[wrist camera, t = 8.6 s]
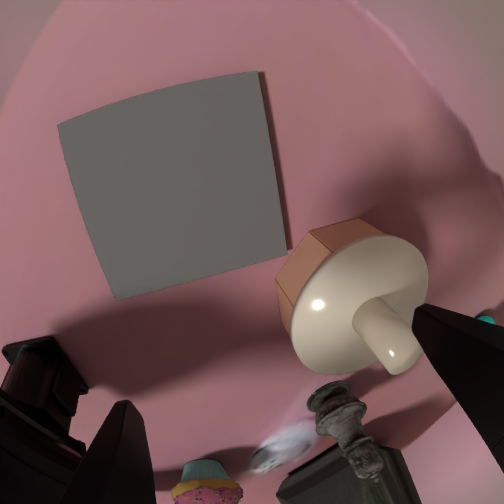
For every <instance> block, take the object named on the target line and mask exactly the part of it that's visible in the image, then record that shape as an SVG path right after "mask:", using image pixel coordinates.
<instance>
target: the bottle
mask: <svg viewBox="0 0 504 504" xmlns="http://www.w3.org/2000/svg"><path fill="white" fill-rule="evenodd" d="M372 444H373V445H374V447H375V448H376V450H377V452H378V453H379V455H380V457H381V458H382V460H383V463H384V464H383V468H382V469H381V471H380V472H379V474H378V475H377V477H380V478H379V482H378V483H377V482H375V481H373V480H374V479H373V478H367V479H361V478H359V477H357V475H356V474H355V472H354V470H353V468H352V466H351V464H350V463H349V461H348V459H347V458H344V457H342V456H341V453H342V449H341V448H340V446H339V445H338V446H337V447H335V448H334V449H332V450H331V451H329V452H328V453H326V454H325V455H323V456H321V457H320V458H318V459H317V460H315V461H313V462H312V463H310V464H309V465H307V466H305V467H304V468H302V469H300V470H298V471H297V472H295V473H293V474H291V475H290V476H288V477H287V478H286V479H285V480H284V481H283V482H282V484H281V485H280V487H279V489H278V491H277V493H276V497H277V498H278V500H279V502H280V503H281V504H422V503H421V500H420V498H419V495H418V493H417V490H416V488H415V485H414V482H413V480H412V477H411V475H410V472H409V470H408V468H407V465H406V463H405V460H404V458H403V456H402V453H401V451H400V450H399V449H394V448H390V447H385V446H381V445H377V444H374V443H372Z"/></svg>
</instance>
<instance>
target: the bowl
mask: <svg viewBox="0 0 504 504" xmlns="http://www.w3.org/2000/svg"><path fill="white" fill-rule="evenodd" d="M374 234H385V233H383V232H382V231H380V230H378V229H377V228H375V227H373V226H372V225H370V224H368V223H366V222H365V221H363V220H361V219H360V218H357V219H353V220H349V221H345V222H341V223H338V224H334V225H330V226H326V227H323V228H319V229H315V230H311V231H310V233H309V232H308V233H307V234H306V236H305V237H304V239H303V240H302V241H301V243H300V244H299V246H298V247H297V249H296V250H295V251H294V253H293V254H292V256H291V257H290V258H289V260H288V261H287V263H286V264H285V265H284V267H283V268H282V270H281V271H280V272H279V274H278V275H277V277H276V279H275V283H276V289H277V295H278V301H279V308H280V314H281V320H282V323H283V325H284V327H285V329H286V331H287V332H288V334H289V336H290V330H289V326H290V318H291V314H292V309H293V307H294V304H295V301H296V299H297V297H298V295H299V293H300V291H301V289H302V287H303V286H304V284H305V283H306V281H307V280H308V278H309V277H310V276H311V275H312V273H313V272H314V271H315V270H316V269H317V268H318V267H319V266H320V265H321V264H322V263H323V262H324V261H325V260H326V259H327V258H328V257H329V256H331V255H332V254H333V253H334V252H336V251H337V250H339V249H340V248H342V247H343V246H345V245H346V244H348V243H350V242H352V241H354V240H357V239H359V238H362V237H365V236H369V235H374Z"/></svg>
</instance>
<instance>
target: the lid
mask: <svg viewBox="0 0 504 504" xmlns="http://www.w3.org/2000/svg"><path fill="white" fill-rule="evenodd" d="M428 282H429V280H428V268H427V265H426V261H425V259H424V257H423V255H422V254H421V252H420V251H419V250H418V249H417V248H416V247H415V246H414V245H412V244H411V243H409V242H407V241H406V240H404V239H402V238H400V237H398V236H394V235H390V234H374V235H369V236H365V237H362V238H359V239H357V240H354V241H352V242H350V243H348V244H346V245H345V246H343V247H342V248H340V249H339V250H337V251H336V252H334V253H333V254H332V255H331V256H329V257H328V258H327V259H326V260H325V261H324V262H323V263H322V264H321V265H320V266H319V267H318V268H317V269H316V270H315V271H314V272H313V273H312V275H311V276H310V277H309V278H308V280H307V281H306V283H305V284H304V286H303V287H302V289H301V291H300V293H299V295H298V297H297V299H296V301H295V304H294V307H293V309H292V314H291V318H290V326H289V330H290V339H291V343H292V346H293V348H294V350H295V352H296V354H297V356H298V357H299V359H300V360H301V362H302V363H303V364H304V365H305V366H306V367H307V368H309V369H310V370H312V371H314V372H317V373H320V374H324V375H343V374H348V373H352V372H355V371H358V370H361V369H363V368H365V367H367V366H369V365H371V364H373V363H375V362H377V361H378V360H379V361H380V362H381V363H382V364H383V365H384V367H385V368H386V369H387V370H388V372H389V373H390V374H392V375H397V374H401V373H403V372H405V371H406V370H408V369H409V368H411V367H412V366H413V365H414V364H415V363H416V362H417V361H418V360H419V358H420V357H421V355H422V354H423V352H424V351H423V349H422V347H421V346H420V344H419V343H418V341H417V339H416V338H415V336H414V334H413V332H412V329H411V325H412V320H413V314H414V310H415V308H416V307H418V306H420V305H422V304H424V302H425V299H426V295H427V291H428Z"/></svg>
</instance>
